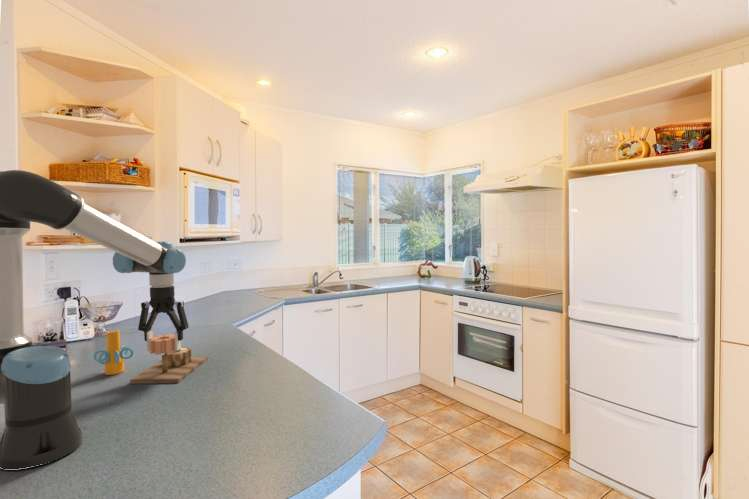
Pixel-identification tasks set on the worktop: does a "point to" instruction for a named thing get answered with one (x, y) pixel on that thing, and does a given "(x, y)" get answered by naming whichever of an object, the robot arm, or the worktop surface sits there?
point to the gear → (162, 344)
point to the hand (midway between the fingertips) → (164, 349)
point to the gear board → (170, 368)
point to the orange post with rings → (113, 354)
